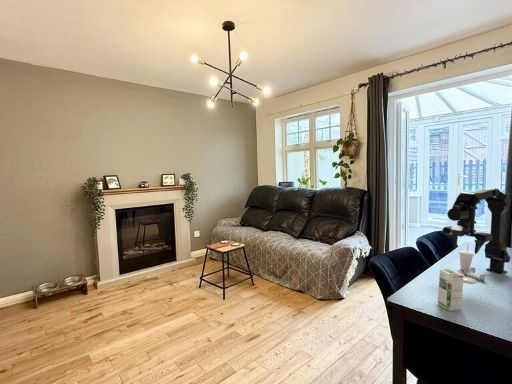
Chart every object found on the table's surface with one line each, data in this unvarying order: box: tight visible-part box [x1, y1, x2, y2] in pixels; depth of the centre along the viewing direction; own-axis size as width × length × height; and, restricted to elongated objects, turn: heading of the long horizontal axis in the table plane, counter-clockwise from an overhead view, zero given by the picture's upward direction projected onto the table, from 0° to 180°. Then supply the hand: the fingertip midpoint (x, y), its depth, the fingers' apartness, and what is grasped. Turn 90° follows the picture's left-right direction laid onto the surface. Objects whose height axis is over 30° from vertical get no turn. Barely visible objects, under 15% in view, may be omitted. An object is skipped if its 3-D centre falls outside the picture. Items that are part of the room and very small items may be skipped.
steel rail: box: [463, 266, 486, 283], centre depth 136 cm, size 7×9×3 cm
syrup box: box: [437, 268, 464, 312], centre depth 107 cm, size 6×6×14 cm
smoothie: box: [458, 243, 475, 271], centre depth 145 cm, size 6×6×14 cm
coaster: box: [463, 276, 478, 284], centre depth 133 cm, size 8×8×1 cm
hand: (465, 251), depth 131 cm, fingers open, 9 cm apart
